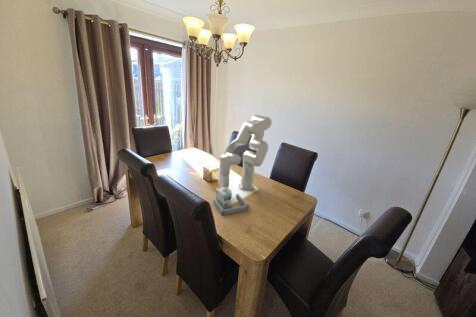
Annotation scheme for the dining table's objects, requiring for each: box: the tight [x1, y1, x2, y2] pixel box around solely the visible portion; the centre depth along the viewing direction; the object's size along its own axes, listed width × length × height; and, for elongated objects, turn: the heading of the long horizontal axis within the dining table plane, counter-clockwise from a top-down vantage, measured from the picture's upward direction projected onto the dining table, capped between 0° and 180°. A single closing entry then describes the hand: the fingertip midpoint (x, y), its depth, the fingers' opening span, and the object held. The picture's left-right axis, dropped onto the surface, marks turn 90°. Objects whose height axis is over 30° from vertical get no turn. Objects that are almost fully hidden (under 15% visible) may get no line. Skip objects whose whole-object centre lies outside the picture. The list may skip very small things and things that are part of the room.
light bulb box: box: [215, 186, 233, 209], centre depth 141 cm, size 11×7×11 cm, turn 38°
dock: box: [212, 193, 250, 216], centre depth 141 cm, size 17×20×3 cm
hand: (223, 193), depth 153 cm, fingers closed
